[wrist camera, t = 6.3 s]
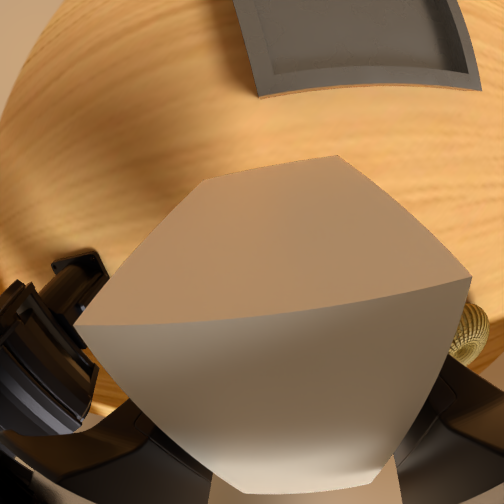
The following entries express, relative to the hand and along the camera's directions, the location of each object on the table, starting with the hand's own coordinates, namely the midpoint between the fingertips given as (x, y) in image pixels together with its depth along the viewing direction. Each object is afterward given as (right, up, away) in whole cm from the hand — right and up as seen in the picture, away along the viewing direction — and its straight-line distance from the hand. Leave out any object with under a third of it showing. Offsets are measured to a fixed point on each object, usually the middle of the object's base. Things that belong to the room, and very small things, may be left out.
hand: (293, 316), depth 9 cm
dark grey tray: (+5, +16, +1) cm, 17 cm away
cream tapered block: (0, +1, +2) cm, 2 cm away
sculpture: (+18, -5, +12) cm, 22 cm away
